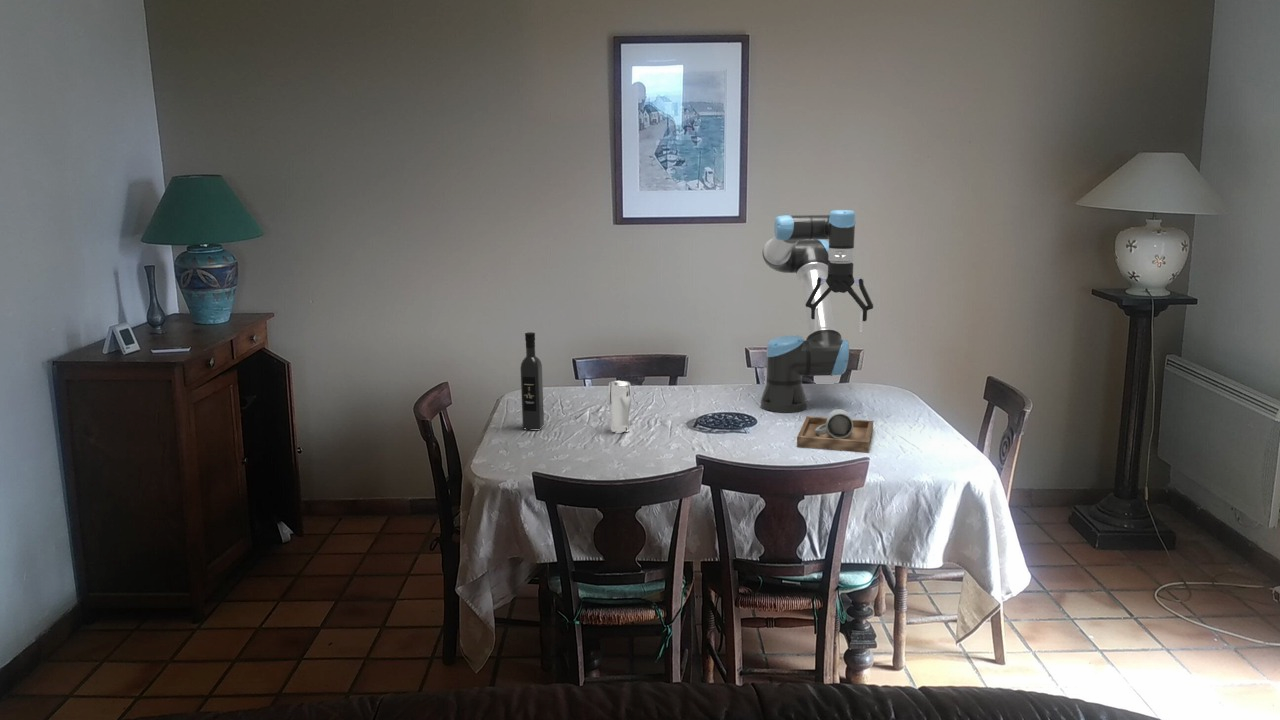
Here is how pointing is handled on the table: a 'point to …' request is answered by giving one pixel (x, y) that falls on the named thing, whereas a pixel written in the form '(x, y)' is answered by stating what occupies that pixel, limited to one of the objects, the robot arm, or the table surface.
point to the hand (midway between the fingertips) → (838, 330)
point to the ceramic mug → (837, 424)
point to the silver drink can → (619, 405)
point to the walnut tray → (853, 442)
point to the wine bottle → (531, 386)
